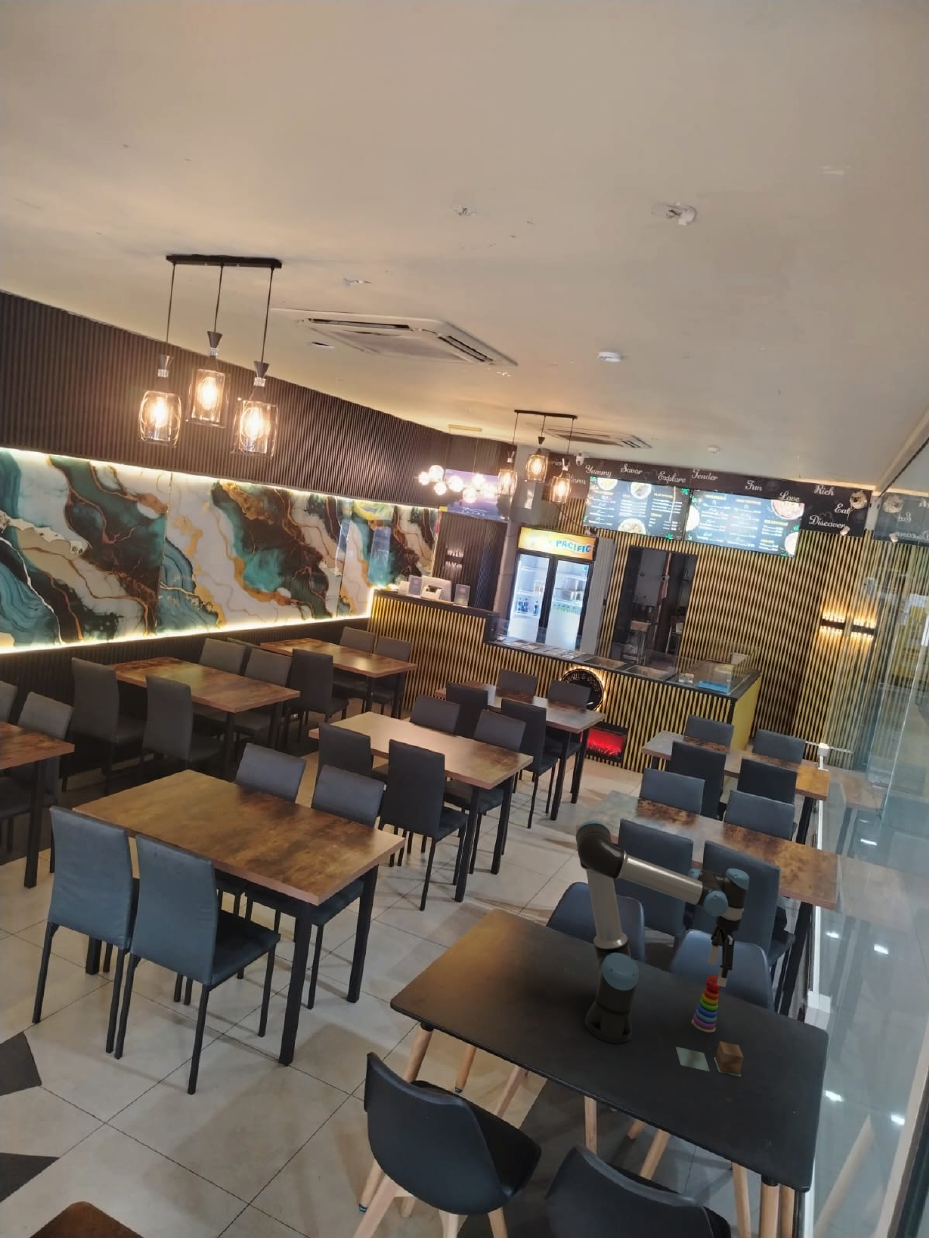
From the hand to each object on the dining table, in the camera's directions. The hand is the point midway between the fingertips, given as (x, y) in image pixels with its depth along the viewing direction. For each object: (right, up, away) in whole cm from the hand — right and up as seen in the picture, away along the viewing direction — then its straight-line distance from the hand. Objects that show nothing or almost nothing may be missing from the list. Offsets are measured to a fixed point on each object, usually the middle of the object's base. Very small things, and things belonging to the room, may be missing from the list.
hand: (716, 974), depth 271 cm
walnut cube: (-3, -20, -19) cm, 28 cm away
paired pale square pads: (-10, -20, -18) cm, 29 cm away
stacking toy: (-4, -19, +2) cm, 20 cm away
